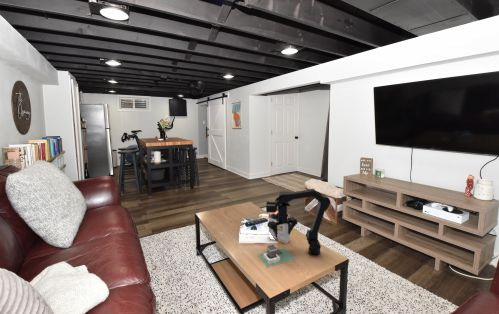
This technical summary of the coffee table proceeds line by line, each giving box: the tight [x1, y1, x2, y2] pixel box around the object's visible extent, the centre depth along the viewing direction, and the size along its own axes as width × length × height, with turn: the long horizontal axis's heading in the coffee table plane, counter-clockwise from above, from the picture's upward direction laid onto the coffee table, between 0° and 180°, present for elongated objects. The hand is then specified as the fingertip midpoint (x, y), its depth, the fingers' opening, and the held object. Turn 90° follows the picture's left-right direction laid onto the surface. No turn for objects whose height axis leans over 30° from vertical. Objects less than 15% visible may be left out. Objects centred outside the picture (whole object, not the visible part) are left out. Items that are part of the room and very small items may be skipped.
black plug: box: [266, 244, 277, 259], centre depth 143 cm, size 4×4×8 cm
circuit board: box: [257, 247, 297, 268], centre depth 146 cm, size 20×14×4 cm
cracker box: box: [268, 210, 291, 245], centre depth 166 cm, size 14×6×21 cm, turn 51°
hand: (282, 235), depth 150 cm, fingers open, 9 cm apart
